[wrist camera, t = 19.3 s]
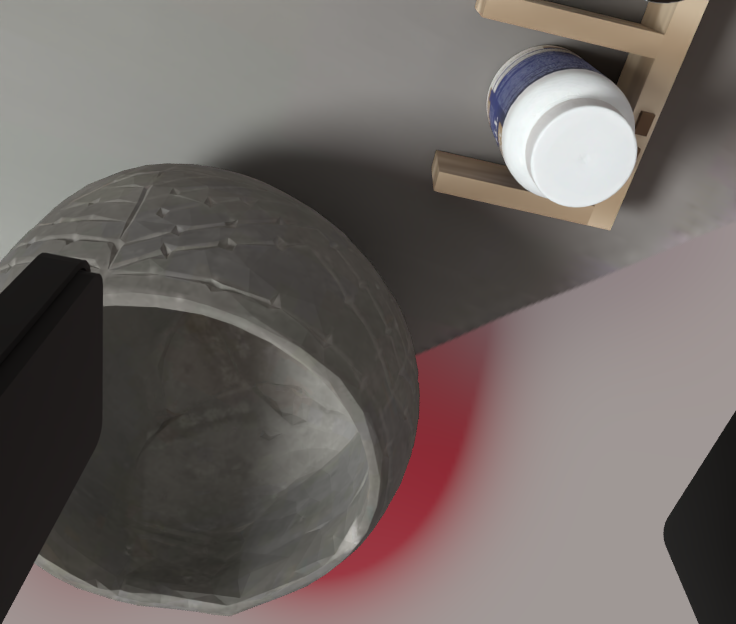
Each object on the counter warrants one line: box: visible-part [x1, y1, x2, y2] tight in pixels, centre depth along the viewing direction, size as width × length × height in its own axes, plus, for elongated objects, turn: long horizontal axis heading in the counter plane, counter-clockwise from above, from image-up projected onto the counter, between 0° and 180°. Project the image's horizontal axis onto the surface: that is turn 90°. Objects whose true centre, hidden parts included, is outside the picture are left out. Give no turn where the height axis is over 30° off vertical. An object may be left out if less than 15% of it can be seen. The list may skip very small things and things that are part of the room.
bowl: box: [0, 164, 420, 616], centre depth 34 cm, size 21×21×15 cm
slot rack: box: [431, 0, 709, 230], centre depth 31 cm, size 17×9×4 cm, turn 168°
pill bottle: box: [487, 45, 637, 207], centre depth 30 cm, size 5×5×10 cm
